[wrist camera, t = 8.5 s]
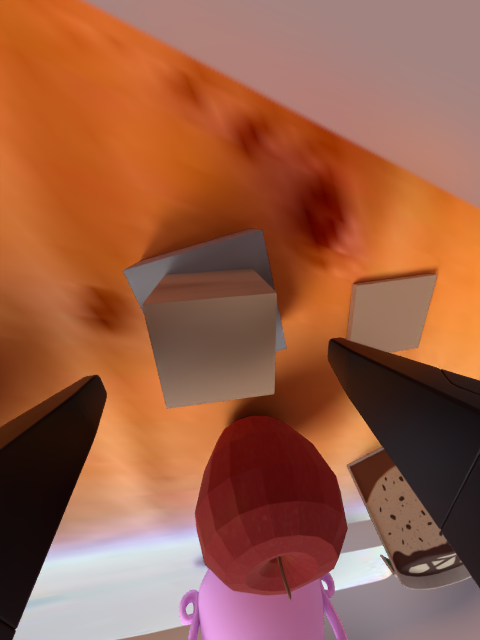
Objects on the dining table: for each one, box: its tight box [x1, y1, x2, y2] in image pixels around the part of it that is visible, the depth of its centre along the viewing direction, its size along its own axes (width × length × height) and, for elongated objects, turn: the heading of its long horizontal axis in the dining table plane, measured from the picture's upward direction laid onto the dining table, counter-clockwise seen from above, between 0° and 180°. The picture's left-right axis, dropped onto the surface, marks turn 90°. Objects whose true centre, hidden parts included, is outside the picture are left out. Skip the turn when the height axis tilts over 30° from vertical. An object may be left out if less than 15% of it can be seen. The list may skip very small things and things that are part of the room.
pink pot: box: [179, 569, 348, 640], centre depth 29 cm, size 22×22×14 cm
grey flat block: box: [123, 229, 286, 352], centre depth 16 cm, size 8×8×4 cm
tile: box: [347, 273, 437, 353], centre depth 20 cm, size 7×7×1 cm
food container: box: [347, 447, 472, 590], centre depth 24 cm, size 12×6×10 cm, turn 122°
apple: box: [195, 416, 347, 600], centre depth 18 cm, size 11×11×12 cm
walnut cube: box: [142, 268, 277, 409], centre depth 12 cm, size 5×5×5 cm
